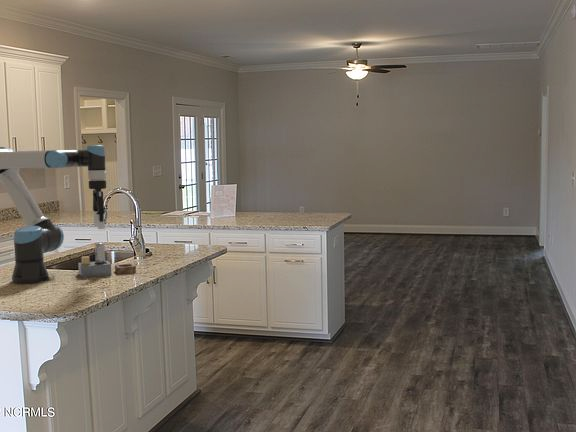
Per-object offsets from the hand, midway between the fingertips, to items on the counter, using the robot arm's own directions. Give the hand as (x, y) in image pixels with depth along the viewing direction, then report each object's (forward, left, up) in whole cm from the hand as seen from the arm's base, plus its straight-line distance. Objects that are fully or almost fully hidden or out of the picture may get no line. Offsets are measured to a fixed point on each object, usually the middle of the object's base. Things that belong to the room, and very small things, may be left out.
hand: (99, 227), depth 300 cm
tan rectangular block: (-7, 0, -20) cm, 21 cm away
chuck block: (-3, 0, -22) cm, 22 cm away
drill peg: (0, 0, -21) cm, 21 cm away
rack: (+11, 0, -22) cm, 25 cm away
